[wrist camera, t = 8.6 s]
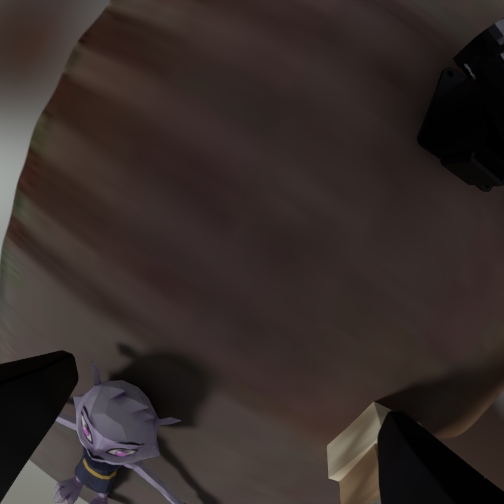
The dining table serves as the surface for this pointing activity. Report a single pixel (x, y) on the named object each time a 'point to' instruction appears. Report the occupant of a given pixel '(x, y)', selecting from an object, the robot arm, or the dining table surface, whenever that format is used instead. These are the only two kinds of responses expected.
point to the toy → (112, 439)
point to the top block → (361, 480)
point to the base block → (355, 441)
